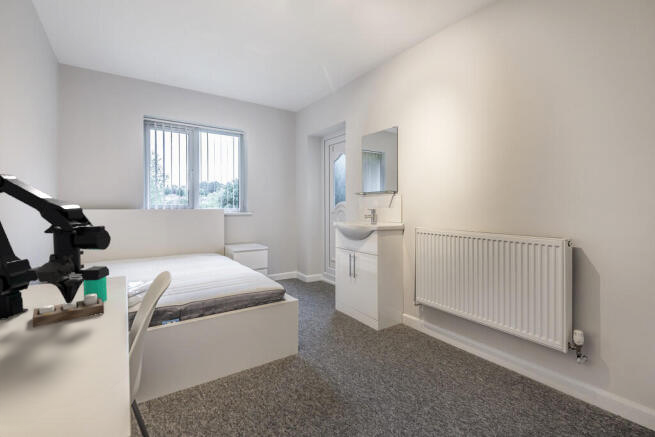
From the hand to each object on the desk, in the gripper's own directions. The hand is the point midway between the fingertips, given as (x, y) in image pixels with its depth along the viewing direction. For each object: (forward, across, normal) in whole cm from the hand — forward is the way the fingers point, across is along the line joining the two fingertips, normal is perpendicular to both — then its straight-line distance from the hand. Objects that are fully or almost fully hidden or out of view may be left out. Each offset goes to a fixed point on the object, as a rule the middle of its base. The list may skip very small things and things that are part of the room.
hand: (69, 302), depth 86 cm
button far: (+2, +4, +3) cm, 5 cm away
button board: (+4, 0, 0) cm, 4 cm away
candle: (+4, 0, +12) cm, 12 cm away
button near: (+3, -4, -3) cm, 6 cm away
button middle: (+3, 0, 0) cm, 3 cm away
